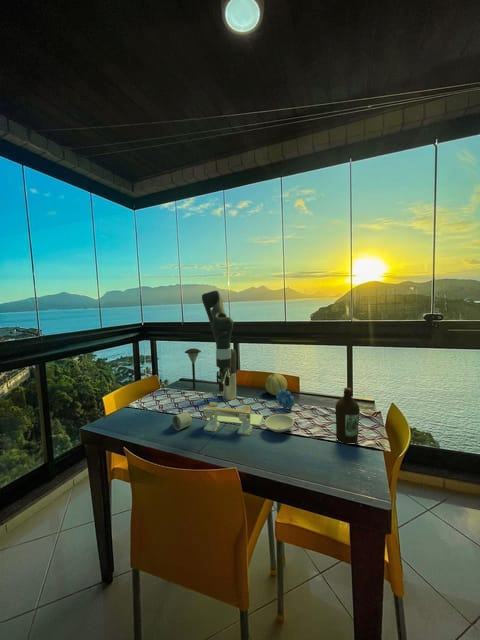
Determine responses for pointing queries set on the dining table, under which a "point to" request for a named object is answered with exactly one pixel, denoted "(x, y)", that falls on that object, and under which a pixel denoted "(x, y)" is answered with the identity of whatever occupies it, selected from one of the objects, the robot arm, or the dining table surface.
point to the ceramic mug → (182, 420)
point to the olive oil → (347, 418)
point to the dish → (279, 422)
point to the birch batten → (228, 412)
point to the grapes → (285, 399)
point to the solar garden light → (193, 361)
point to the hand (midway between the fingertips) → (224, 388)
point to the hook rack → (214, 423)
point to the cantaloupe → (275, 383)
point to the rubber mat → (254, 419)
